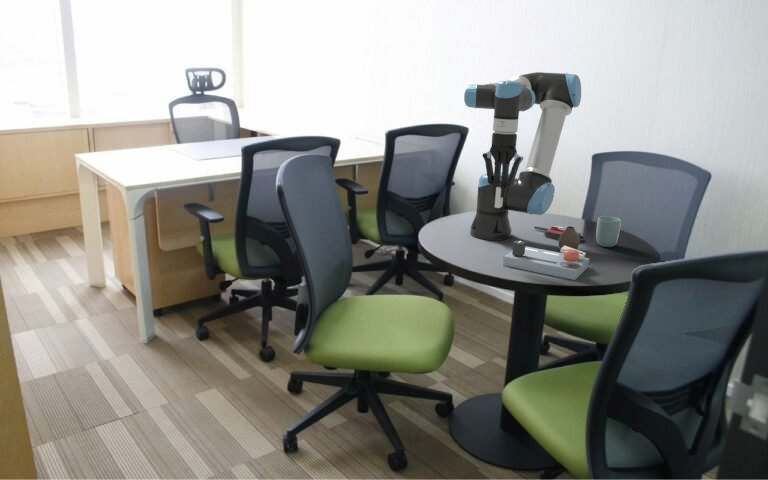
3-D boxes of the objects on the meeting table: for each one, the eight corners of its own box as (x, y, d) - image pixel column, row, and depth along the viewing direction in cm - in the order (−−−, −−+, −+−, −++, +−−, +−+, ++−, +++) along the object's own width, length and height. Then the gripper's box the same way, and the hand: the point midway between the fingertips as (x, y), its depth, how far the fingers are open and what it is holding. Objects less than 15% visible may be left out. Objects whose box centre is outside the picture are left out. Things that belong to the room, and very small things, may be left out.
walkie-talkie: (585, 239, 236) (535, 230, 247) (587, 228, 235) (536, 219, 246) (577, 245, 229) (525, 234, 240) (579, 233, 228) (526, 223, 239)
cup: (618, 249, 224) (622, 222, 221) (595, 247, 225) (599, 220, 222) (615, 243, 231) (619, 216, 228) (593, 241, 232) (596, 215, 230)
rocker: (559, 251, 202) (561, 248, 201) (563, 248, 205) (564, 245, 205) (581, 259, 199) (582, 255, 198) (584, 256, 202) (586, 252, 201)
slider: (512, 254, 203) (513, 242, 201) (515, 252, 205) (516, 239, 204) (521, 256, 201) (522, 243, 200) (524, 253, 204) (525, 241, 202)
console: (502, 265, 203) (504, 252, 202) (519, 253, 215) (520, 241, 214) (574, 280, 191) (576, 266, 190) (588, 267, 204) (589, 254, 202)
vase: (554, 251, 219) (556, 227, 217) (563, 247, 224) (565, 223, 222) (572, 256, 215) (575, 231, 212) (581, 251, 220) (584, 227, 217)
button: (561, 259, 194) (562, 251, 193) (565, 256, 198) (566, 248, 197) (575, 262, 192) (576, 254, 191) (579, 259, 195) (580, 251, 195)
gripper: (480, 131, 197) (474, 205, 203) (520, 135, 190) (513, 212, 197) (490, 129, 203) (484, 201, 209) (529, 133, 196) (522, 207, 203)
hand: (498, 206), depth 203 cm, fingers closed
